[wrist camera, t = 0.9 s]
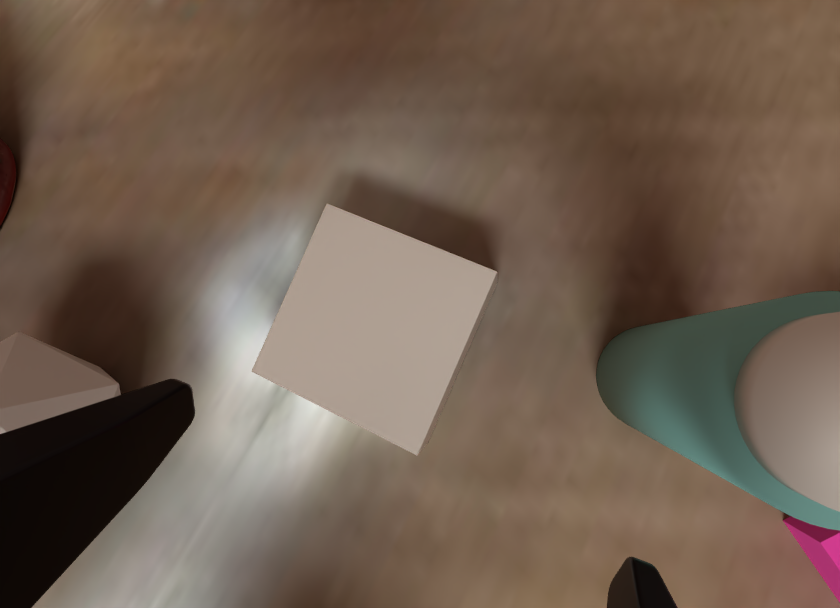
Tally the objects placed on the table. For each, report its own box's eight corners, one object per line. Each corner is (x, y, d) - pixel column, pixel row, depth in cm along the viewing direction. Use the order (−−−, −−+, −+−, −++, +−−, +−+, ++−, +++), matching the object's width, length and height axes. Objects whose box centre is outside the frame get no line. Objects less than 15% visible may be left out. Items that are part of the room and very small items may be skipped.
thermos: (684, 449, 21) (967, 599, 8) (580, 403, 22) (687, 472, 9) (725, 351, 22) (1066, 346, 8) (619, 309, 23) (780, 249, 10)
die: (25, 376, 29) (-173, 521, 21) (36, 275, 24) (-213, 409, 16) (150, 440, 30) (12, 600, 22) (184, 356, 26) (26, 519, 17)
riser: (428, 442, 23) (417, 455, 21) (280, 369, 25) (251, 371, 22) (498, 281, 24) (497, 271, 21) (347, 220, 26) (326, 203, 23)
